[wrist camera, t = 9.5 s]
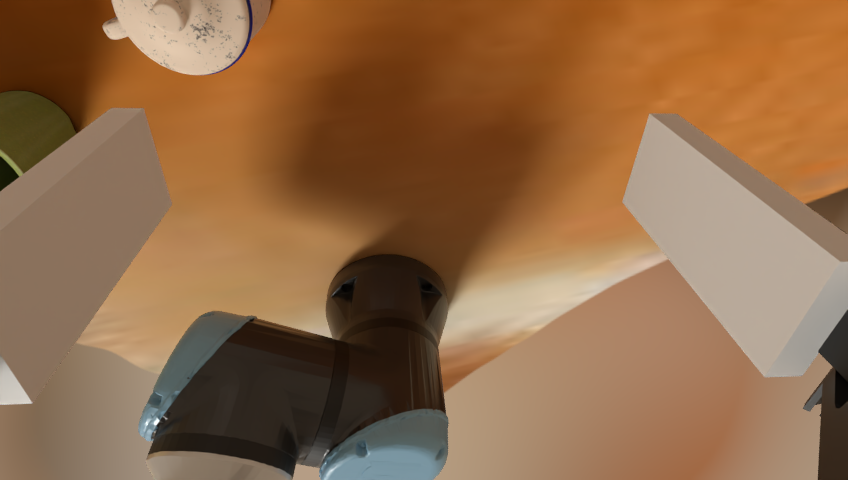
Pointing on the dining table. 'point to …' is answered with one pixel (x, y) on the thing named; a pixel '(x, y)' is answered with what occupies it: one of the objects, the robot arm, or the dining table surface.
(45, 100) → the plant pot
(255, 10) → the teacup with lid
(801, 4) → the dining table surface
